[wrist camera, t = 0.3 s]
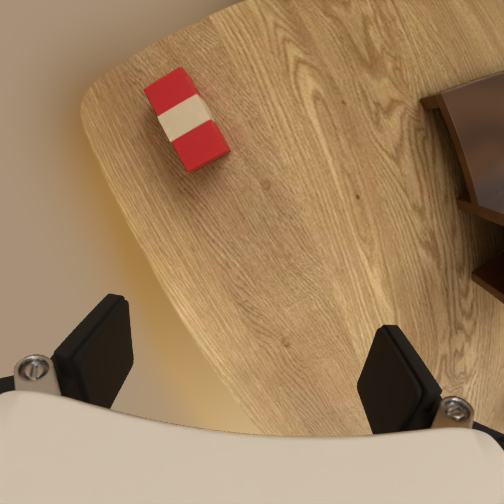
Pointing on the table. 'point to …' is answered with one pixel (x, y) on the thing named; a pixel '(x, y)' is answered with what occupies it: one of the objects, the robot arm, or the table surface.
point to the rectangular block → (186, 120)
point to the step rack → (479, 157)
